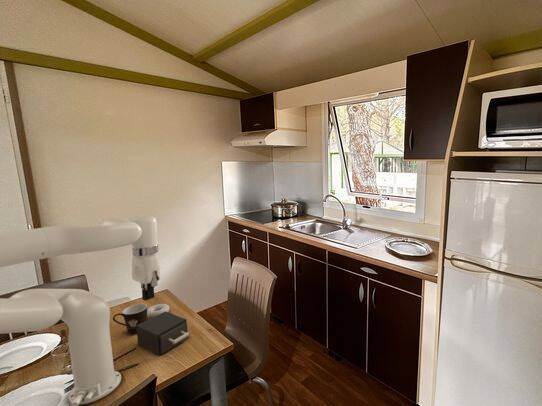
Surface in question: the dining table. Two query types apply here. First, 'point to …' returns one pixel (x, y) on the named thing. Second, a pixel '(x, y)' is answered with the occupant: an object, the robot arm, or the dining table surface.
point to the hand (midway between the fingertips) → (148, 298)
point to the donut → (157, 310)
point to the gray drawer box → (156, 330)
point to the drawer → (173, 337)
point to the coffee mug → (133, 317)
